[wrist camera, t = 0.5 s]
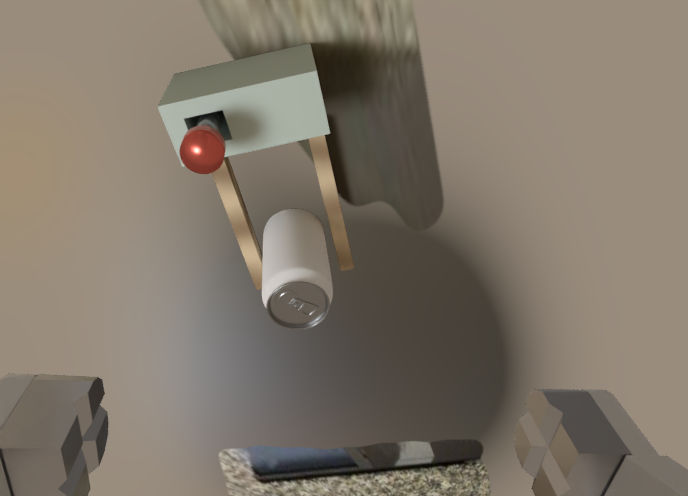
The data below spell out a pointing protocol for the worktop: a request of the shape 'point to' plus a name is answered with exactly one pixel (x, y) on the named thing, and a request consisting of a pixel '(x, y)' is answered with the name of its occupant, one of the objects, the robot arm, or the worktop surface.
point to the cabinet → (250, 100)
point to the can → (295, 270)
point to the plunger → (204, 144)
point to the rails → (243, 224)
